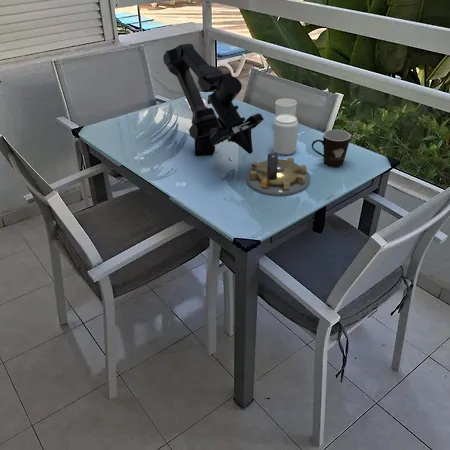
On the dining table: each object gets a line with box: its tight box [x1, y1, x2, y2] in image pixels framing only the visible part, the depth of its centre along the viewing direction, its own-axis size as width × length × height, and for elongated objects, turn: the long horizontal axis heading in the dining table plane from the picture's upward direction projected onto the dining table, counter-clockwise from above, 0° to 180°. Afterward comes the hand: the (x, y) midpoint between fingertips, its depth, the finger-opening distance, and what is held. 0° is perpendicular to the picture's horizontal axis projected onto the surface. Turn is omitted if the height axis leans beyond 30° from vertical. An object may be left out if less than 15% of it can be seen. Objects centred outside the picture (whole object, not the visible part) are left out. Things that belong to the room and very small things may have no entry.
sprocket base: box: [245, 164, 311, 197], centre depth 150 cm, size 20×20×1 cm
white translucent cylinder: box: [275, 98, 298, 118], centre depth 180 cm, size 8×8×10 cm
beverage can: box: [272, 114, 299, 156], centre depth 164 cm, size 8×8×12 cm
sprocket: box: [249, 152, 308, 190], centre depth 147 cm, size 18×18×10 cm
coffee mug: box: [311, 129, 352, 168], centre depth 157 cm, size 12×9×10 cm
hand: (251, 153), depth 145 cm, fingers closed
